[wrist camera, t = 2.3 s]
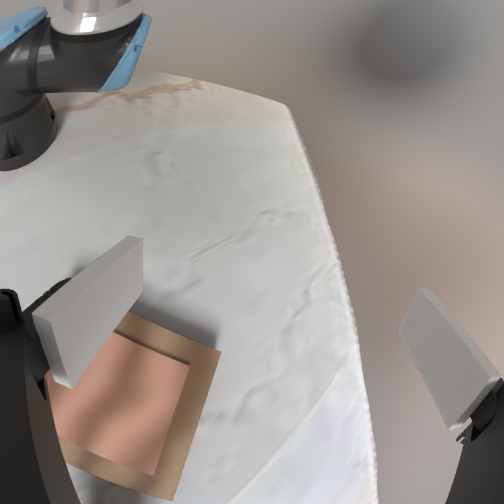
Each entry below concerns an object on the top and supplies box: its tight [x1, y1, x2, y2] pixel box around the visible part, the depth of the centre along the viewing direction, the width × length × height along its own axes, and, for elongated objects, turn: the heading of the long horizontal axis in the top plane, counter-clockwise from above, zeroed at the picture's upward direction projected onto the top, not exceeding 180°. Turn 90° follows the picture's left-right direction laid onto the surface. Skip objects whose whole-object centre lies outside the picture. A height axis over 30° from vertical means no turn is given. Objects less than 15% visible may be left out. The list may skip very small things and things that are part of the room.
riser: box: [45, 278, 221, 501], centre depth 25 cm, size 20×20×4 cm
